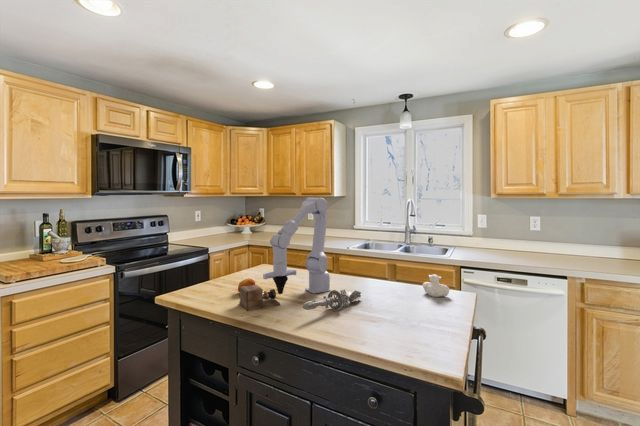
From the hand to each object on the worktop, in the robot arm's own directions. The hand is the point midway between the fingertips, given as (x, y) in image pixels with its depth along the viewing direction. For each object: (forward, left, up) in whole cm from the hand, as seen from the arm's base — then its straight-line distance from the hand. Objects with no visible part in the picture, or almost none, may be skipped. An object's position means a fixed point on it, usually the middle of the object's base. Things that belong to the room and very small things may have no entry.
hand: (280, 293), depth 140 cm
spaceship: (-15, +20, -4) cm, 25 cm away
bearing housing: (+9, 0, -3) cm, 10 cm away
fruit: (+9, -17, -4) cm, 20 cm away
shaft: (+9, 0, -2) cm, 9 cm away
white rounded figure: (-64, +28, -4) cm, 70 cm away
